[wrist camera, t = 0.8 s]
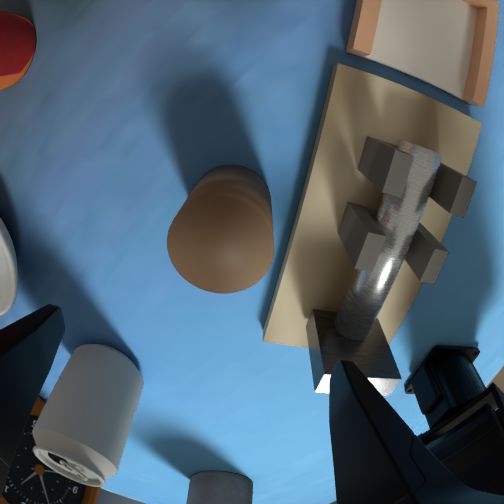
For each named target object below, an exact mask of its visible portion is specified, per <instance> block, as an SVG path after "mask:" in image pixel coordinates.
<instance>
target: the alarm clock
mask: <svg viewBox="0 0 504 504" xmlns="http://www.w3.org/2000/svg"><path fill="white" fill-rule="evenodd" d="M45 404H46V402H45V401H43V400H42V399H41V398H40V397H39V396H38V397H37V400H36V402H35V404H34V407H33V409H32V411H31V414H30V416H29V419H28V421H27V423H26V426H25V428H24V431H23V433H22V436H21V439H20V441H19V444H18V447H17V449H16V452H15V455H14V458H13V460H12V463H11V466H10V467H9V468H10V470H9V473H8V476H7V479H6V482H5V485H4V488H3V492H2V495H1V498H0V504H96V501H97V498H98V494H99V491H100V488H101V487H94V486H89V485H85V484H82V483H79V482H76V481H74V480H72V479H69V478H67V477H65V476H63V475H61V474H59V473H58V472H56V471H54V470H53V469H51V468H50V467H48V466H47V465H45V464H44V463H43V462H42V461H40V460H39V459H38V458H37V456H36V455H35V454H34V452H33V448H34V446H37V445H36V443H35V440H34V437H33V434H32V431H33V428H34V426H35V424H36V422H37V420H38V418H39V416H40V414H41V412H42V410H43V408H44V406H45Z"/></svg>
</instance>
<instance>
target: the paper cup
mask: <svg viewBox="0 0 504 504" xmlns="http://www.w3.org/2000/svg"><path fill="white" fill-rule="evenodd" d="M35 48H36V32H35V28H34V26H33V24H32V23H31V21H30V20H28V19H27V18H25V17H22V16H19V15H15V14H11V13H7V12H3V11H0V90H1V89H4V88H7V87H10V86H12V85H14V84H15V83H17V82H18V81H19V80H20V79H21V78H22V77H23V76H24V74H25V73H26V71H27V70H28V68H29V66H30V64H31V62H32V59H33V57H34V53H35Z"/></svg>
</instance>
